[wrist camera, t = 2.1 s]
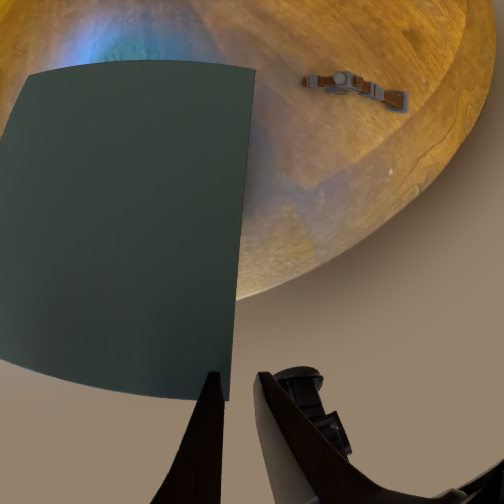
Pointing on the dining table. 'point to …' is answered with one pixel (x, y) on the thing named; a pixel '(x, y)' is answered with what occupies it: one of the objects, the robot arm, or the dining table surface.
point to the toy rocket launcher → (360, 89)
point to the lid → (124, 224)
